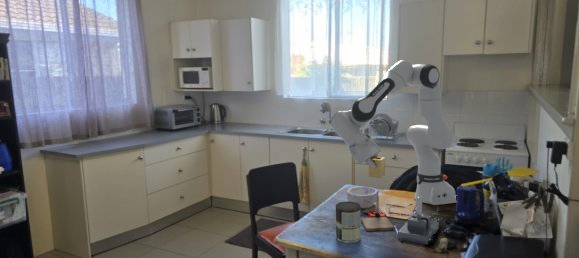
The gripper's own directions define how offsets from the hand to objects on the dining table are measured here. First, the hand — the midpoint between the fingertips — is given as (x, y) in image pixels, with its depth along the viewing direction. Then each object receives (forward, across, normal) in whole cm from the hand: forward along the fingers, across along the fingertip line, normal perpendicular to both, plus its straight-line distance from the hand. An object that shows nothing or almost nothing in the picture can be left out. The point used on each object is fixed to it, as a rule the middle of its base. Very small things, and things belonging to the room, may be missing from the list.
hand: (378, 166), depth 179 cm
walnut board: (+19, 0, +20) cm, 27 cm away
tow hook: (+16, +12, +23) cm, 30 cm away
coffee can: (+15, -18, +24) cm, 34 cm away
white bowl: (+8, +21, +31) cm, 38 cm away
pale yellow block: (+3, 0, +4) cm, 5 cm away
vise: (+32, 0, +7) cm, 33 cm away
